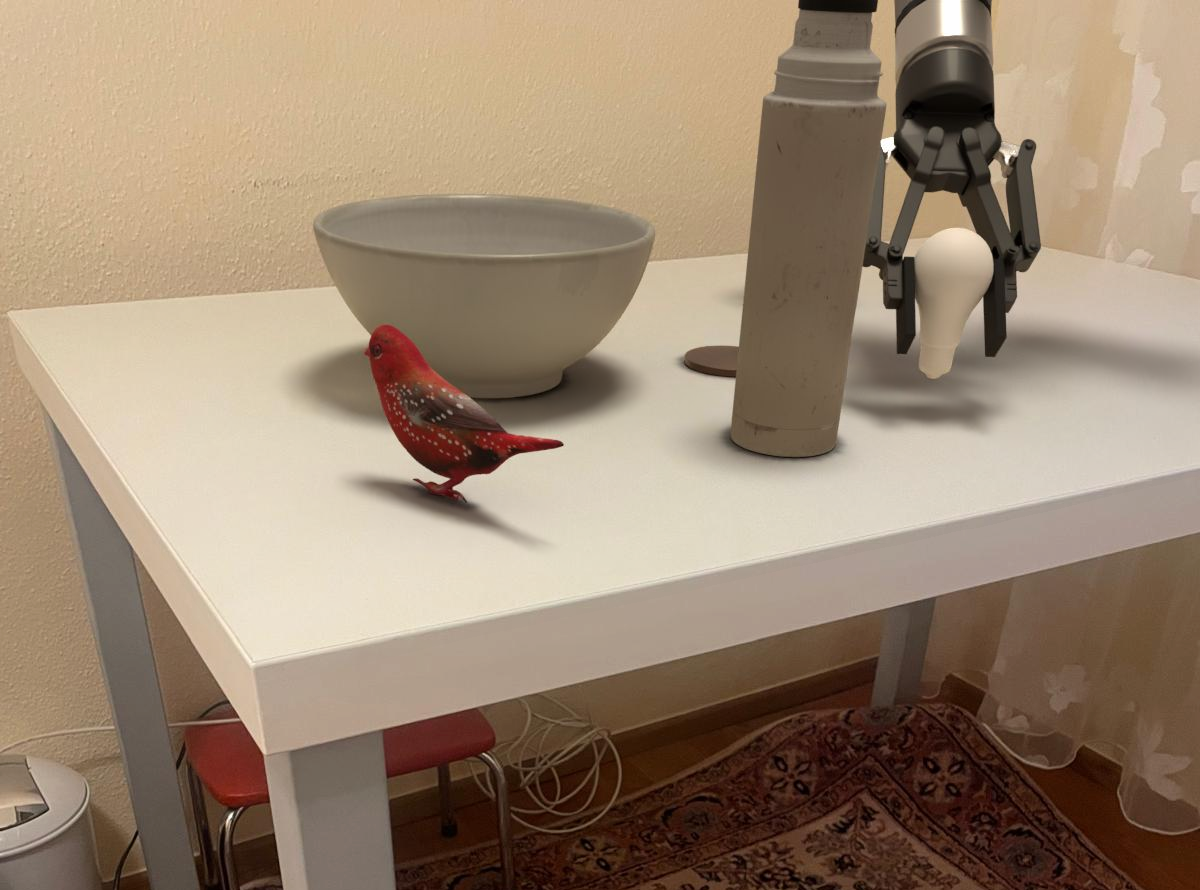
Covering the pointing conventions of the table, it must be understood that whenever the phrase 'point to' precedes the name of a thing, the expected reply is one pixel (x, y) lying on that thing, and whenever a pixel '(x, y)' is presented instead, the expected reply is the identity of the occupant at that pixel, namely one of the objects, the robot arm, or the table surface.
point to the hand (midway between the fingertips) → (951, 345)
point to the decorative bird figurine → (439, 416)
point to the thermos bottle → (808, 232)
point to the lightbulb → (948, 292)
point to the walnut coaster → (713, 360)
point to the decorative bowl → (488, 280)
